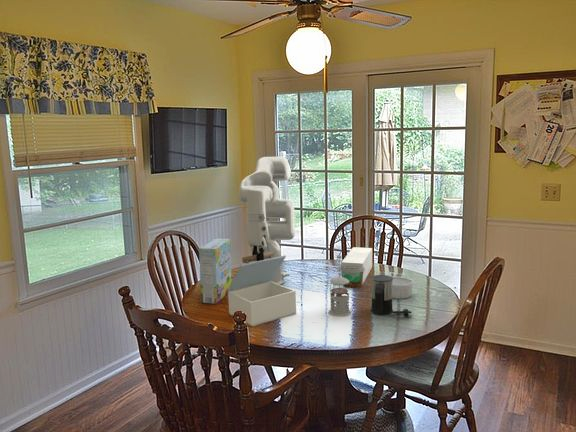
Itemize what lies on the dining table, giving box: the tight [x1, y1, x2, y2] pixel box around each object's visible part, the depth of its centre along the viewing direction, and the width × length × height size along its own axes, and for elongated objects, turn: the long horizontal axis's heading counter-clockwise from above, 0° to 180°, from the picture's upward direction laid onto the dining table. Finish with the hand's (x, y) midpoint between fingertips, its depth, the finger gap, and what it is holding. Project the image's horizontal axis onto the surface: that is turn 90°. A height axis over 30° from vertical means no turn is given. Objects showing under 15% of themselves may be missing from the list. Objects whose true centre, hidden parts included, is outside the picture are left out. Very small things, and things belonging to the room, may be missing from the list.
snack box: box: [198, 238, 232, 305], centre depth 238 cm, size 22×9×26 cm, turn 168°
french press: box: [327, 254, 352, 318], centre depth 214 cm, size 10×12×25 cm
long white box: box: [340, 246, 373, 285], centre depth 268 cm, size 32×11×11 cm, turn 162°
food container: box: [340, 264, 365, 289], centre depth 247 cm, size 12×6×10 cm, turn 68°
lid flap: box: [228, 252, 287, 291], centre depth 216 cm, size 22×18×5 cm
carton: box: [227, 281, 297, 328], centre depth 215 cm, size 22×18×10 cm
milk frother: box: [370, 274, 412, 317], centre depth 211 cm, size 14×16×15 cm
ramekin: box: [392, 276, 414, 300], centre depth 234 cm, size 13×13×7 cm
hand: (258, 260), depth 213 cm, fingers closed on lid flap, 2 cm apart
